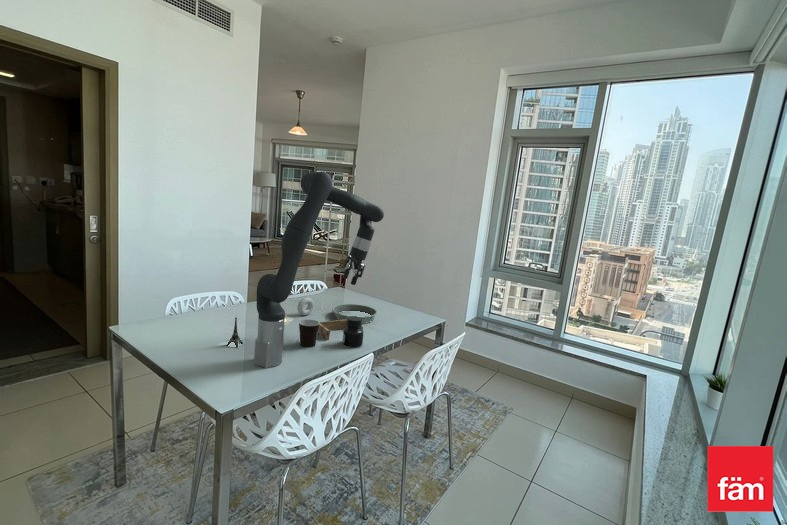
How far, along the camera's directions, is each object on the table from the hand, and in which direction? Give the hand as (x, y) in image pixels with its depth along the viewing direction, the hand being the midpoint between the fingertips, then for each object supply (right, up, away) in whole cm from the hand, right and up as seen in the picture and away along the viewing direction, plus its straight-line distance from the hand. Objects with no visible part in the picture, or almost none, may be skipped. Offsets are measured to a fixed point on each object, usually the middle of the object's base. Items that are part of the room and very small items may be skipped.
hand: (348, 281), depth 169 cm
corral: (-6, -25, +9) cm, 27 cm away
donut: (-27, -20, +30) cm, 45 cm away
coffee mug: (-16, -27, -7) cm, 32 cm away
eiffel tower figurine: (-45, -26, -16) cm, 54 cm away
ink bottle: (+2, -28, -3) cm, 28 cm away
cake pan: (-1, -22, +36) cm, 42 cm away
